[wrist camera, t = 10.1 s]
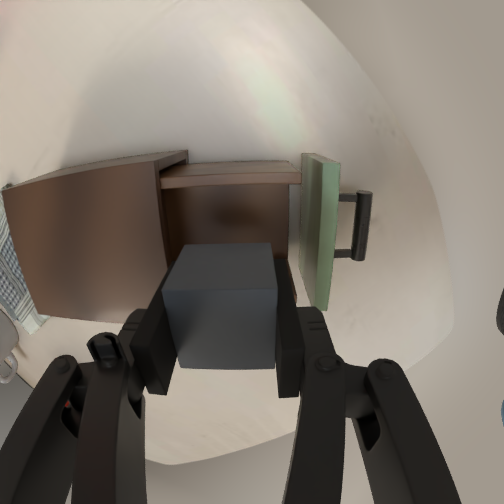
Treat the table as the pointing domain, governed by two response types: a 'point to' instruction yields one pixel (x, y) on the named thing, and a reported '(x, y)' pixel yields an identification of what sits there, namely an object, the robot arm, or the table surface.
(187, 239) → the drawer
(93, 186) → the cabinet
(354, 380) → the robot arm
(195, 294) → the block
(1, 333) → the mug
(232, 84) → the table surface
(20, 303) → the dish towel
